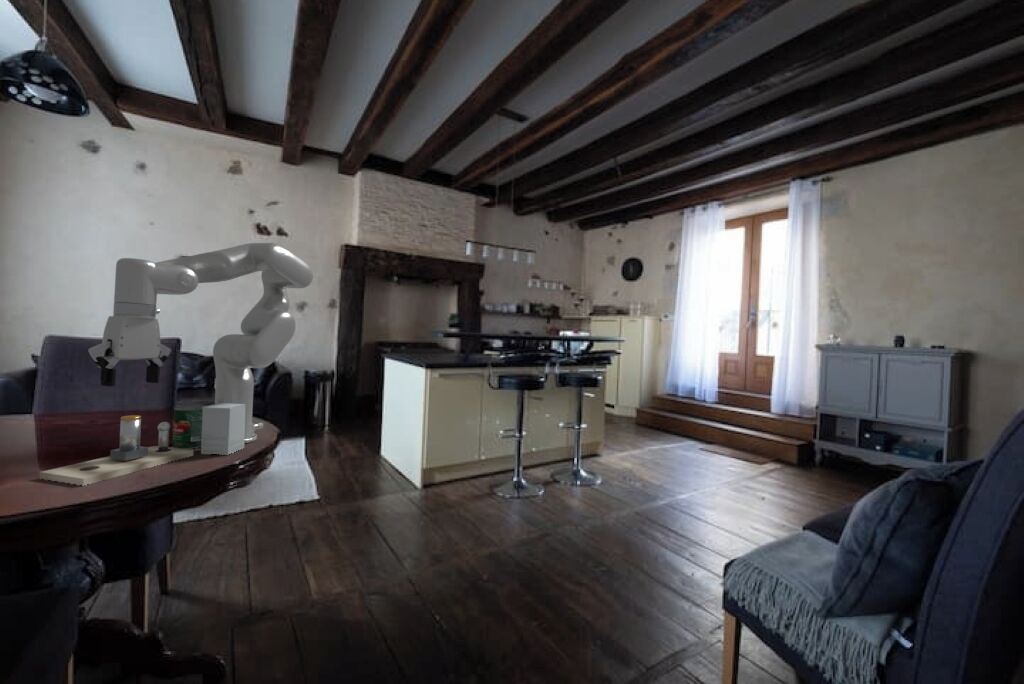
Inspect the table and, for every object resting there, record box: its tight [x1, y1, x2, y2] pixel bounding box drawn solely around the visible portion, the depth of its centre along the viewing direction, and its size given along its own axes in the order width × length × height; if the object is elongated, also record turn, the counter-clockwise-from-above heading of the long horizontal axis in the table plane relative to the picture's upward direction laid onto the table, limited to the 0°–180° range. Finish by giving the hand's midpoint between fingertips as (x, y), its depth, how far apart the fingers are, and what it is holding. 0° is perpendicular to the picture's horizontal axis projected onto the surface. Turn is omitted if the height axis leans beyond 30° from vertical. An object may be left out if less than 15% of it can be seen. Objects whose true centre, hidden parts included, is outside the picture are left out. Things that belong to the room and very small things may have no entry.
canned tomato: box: [171, 404, 209, 450], centre depth 120 cm, size 8×8×11 cm
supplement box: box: [200, 403, 246, 456], centre depth 116 cm, size 7×7×13 cm
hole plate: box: [39, 445, 194, 487], centre depth 100 cm, size 24×12×2 cm, turn 168°
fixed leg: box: [157, 421, 172, 451], centre depth 109 cm, size 3×3×7 cm
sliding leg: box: [109, 414, 149, 461], centre depth 101 cm, size 5×4×10 cm
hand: (131, 384), depth 101 cm, fingers open, 9 cm apart
